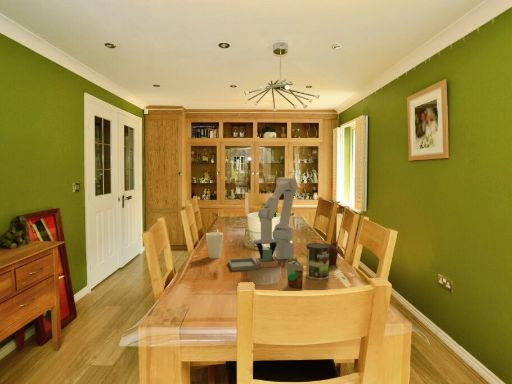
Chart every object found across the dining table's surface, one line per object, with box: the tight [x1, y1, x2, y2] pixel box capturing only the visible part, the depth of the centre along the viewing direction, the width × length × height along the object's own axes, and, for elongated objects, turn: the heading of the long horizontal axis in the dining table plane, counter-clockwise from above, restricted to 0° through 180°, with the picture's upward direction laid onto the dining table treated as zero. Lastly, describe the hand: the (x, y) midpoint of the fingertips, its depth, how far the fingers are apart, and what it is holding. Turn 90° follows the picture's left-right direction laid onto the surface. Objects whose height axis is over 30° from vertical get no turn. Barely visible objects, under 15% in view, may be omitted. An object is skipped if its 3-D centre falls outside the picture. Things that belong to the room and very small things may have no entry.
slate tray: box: [227, 257, 260, 272], centre depth 168 cm, size 13×14×2 cm
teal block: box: [261, 247, 272, 262], centre depth 170 cm, size 4×4×8 cm
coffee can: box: [305, 242, 330, 281], centre depth 152 cm, size 10×10×14 cm
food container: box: [284, 257, 304, 290], centre depth 140 cm, size 12×6×10 cm, turn 5°
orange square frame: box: [255, 256, 279, 269], centre depth 171 cm, size 9×9×2 cm
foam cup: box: [205, 231, 224, 259], centre depth 185 cm, size 10×9×13 cm
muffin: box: [325, 243, 339, 267], centre depth 172 cm, size 12×11×10 cm
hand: (266, 257), depth 170 cm, fingers closed on teal block, 4 cm apart
